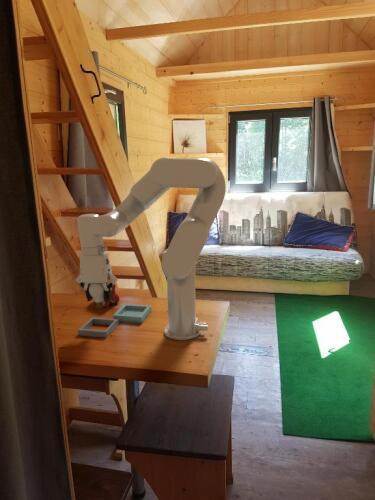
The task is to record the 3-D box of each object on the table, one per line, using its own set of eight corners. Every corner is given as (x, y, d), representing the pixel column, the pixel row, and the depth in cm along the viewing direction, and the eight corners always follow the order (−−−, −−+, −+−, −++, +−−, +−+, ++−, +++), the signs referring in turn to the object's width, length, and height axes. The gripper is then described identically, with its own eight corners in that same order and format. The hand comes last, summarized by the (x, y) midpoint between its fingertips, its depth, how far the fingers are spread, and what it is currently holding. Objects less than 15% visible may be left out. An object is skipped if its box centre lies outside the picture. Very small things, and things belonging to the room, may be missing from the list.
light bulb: (91, 312, 129) (88, 285, 127) (91, 306, 135) (87, 280, 132) (109, 309, 131) (105, 282, 128) (107, 303, 136) (104, 277, 134)
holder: (118, 324, 139) (118, 319, 138) (106, 337, 129) (106, 332, 128) (92, 322, 141) (91, 317, 141) (78, 335, 131) (78, 329, 131)
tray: (151, 311, 150) (151, 305, 149) (142, 323, 139) (141, 317, 138) (124, 309, 152) (124, 304, 151) (113, 321, 141) (113, 315, 141)
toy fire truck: (104, 297, 166) (102, 275, 163) (122, 304, 158) (120, 280, 155) (91, 302, 161) (89, 279, 158) (108, 309, 153) (106, 285, 150)
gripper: (120, 247, 129) (126, 297, 134) (75, 248, 133) (81, 295, 138) (111, 253, 122) (117, 305, 127) (64, 253, 126) (71, 303, 130)
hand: (98, 299), depth 132 cm, fingers closed on light bulb, 5 cm apart
